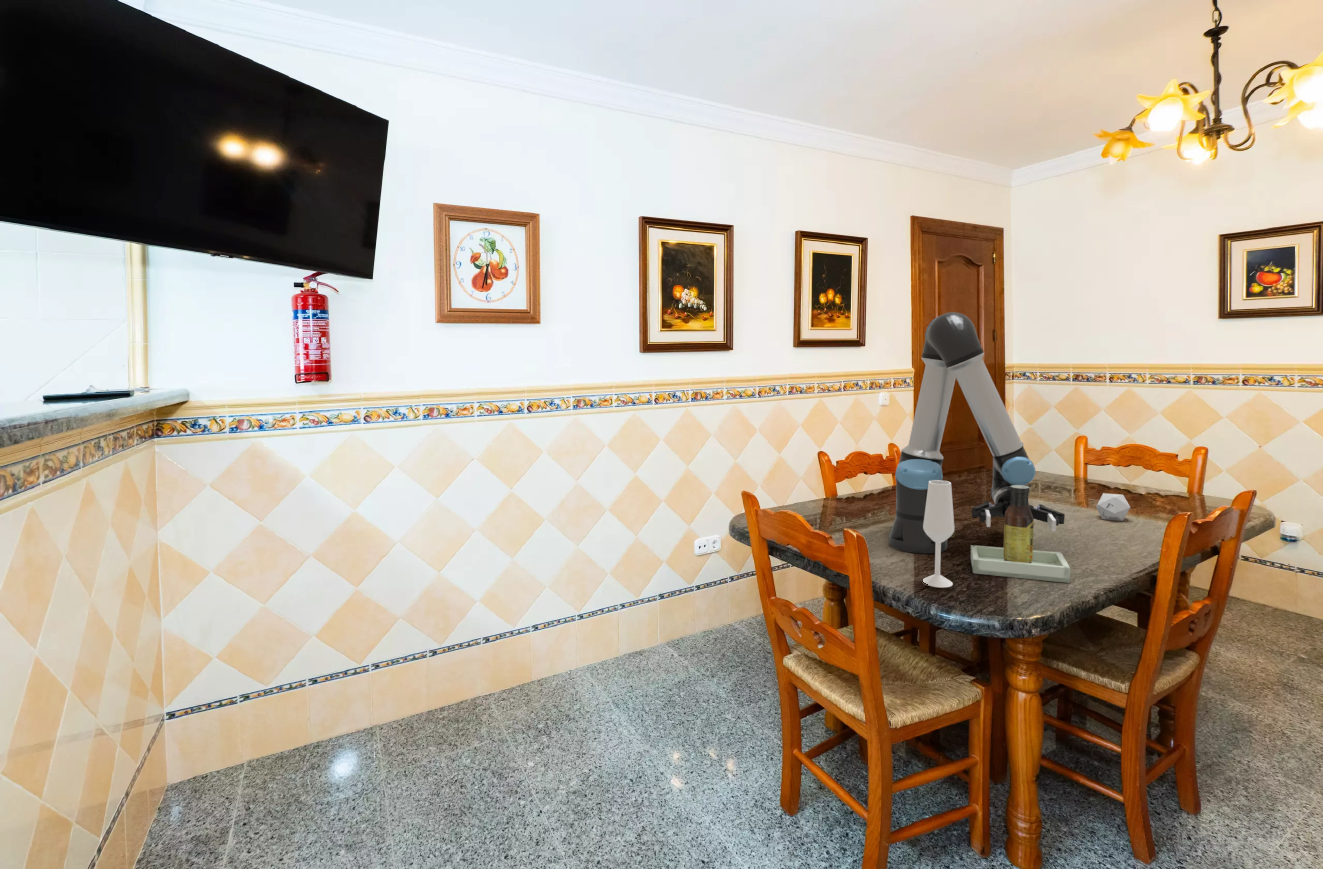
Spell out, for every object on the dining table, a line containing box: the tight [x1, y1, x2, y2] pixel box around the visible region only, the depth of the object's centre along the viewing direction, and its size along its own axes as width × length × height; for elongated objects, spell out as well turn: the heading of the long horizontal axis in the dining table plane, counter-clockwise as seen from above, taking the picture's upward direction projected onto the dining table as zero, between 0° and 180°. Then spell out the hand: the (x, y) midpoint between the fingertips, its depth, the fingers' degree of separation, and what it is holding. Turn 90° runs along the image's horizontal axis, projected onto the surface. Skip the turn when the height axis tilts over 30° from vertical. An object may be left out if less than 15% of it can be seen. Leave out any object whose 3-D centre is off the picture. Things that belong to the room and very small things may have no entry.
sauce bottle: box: [1003, 485, 1035, 563], centre depth 151 cm, size 7×6×20 cm
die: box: [1095, 492, 1131, 522], centre depth 193 cm, size 8×9×10 cm
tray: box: [970, 544, 1071, 584], centre depth 153 cm, size 20×12×4 cm, turn 66°
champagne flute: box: [922, 480, 955, 588], centre depth 145 cm, size 7×7×24 cm
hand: (1020, 523), depth 148 cm, fingers open, 13 cm apart
